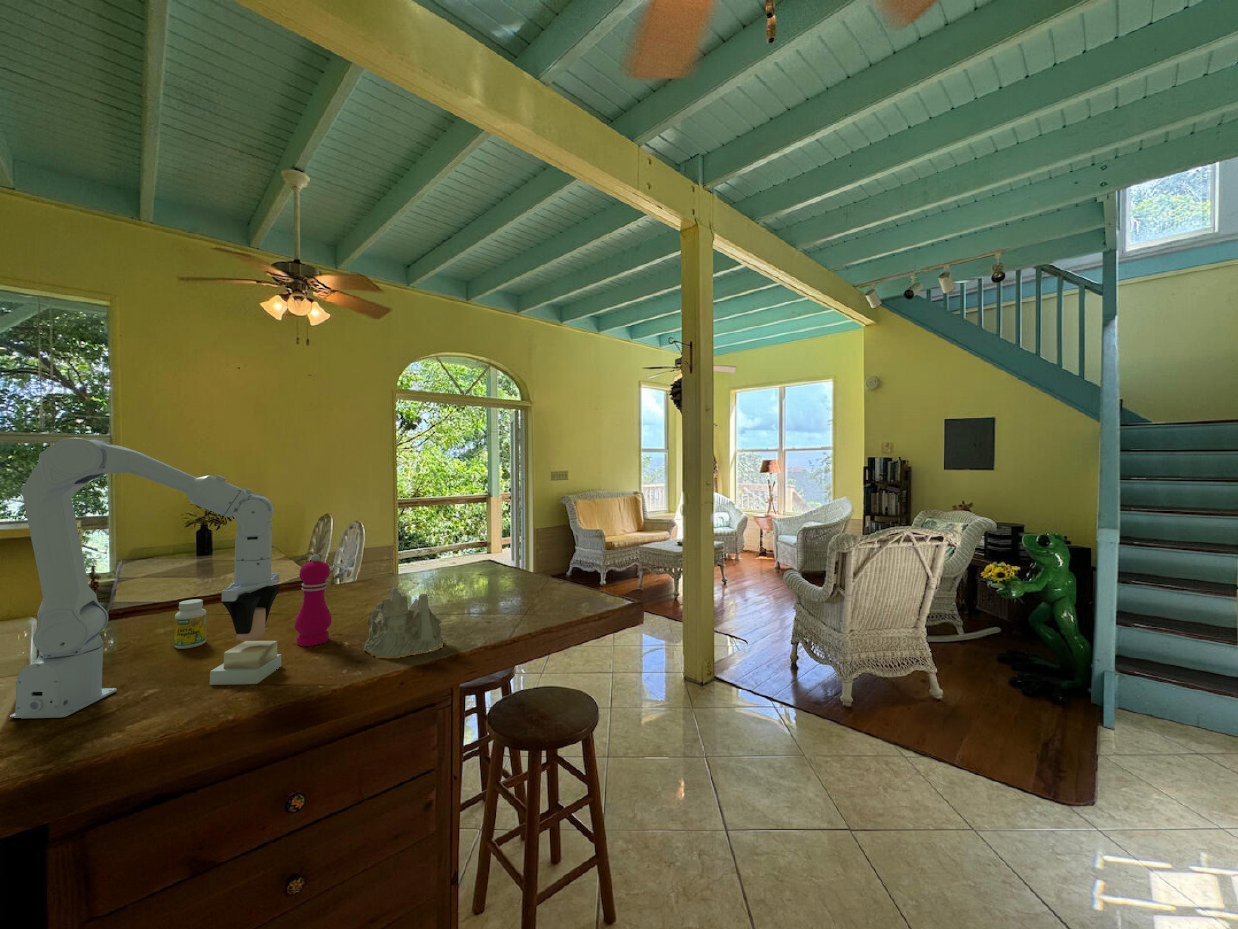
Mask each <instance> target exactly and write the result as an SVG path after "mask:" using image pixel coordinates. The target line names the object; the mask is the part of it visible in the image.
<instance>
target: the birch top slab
mask: <svg viewBox="0 0 1238 929" xmlns="http://www.w3.org/2000/svg"><path fill="white" fill-rule="evenodd" d="M277 654H278V640H247V641H243V642H241V643H239V644H236V645H235V646H234V647H232V648H230V649H227V650H226V651H224V652H223V663H224V669H251V668H259V667H261V666H262V665H264V664H265V663H267V662H268V661H270V660H272V659H273V658H275V657H276V656H277Z"/></svg>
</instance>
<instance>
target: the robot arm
mask: <svg viewBox="0 0 1238 929" xmlns="http://www.w3.org/2000/svg"><path fill="white" fill-rule="evenodd" d="M107 474H132V475H136V476H137V477H138V476H139V477H141V478H143V479H147V480H149V481H151V482H155V483H157V484H160V485H163V486H165V487H168V488H171V489H174V490H177V491H179V492H182V493H185V494H186V496H187V499H188V501H189V503H190V504H193V505H195V506H197V507H200V508H203V509H205V510H207V511H210V512H213V513H216V514H218V515H221V516H223V517H226V518H231V517H233V518H234V521H236V534H235V541H234V545H235V546H234V548H235V549H234V569H233V570H234V571H233V573H234V574H233V576H234V578H233V582H232V583H231V584H230V585H229V586H228V587H227V588H225V589H223V590H221V603H222V605H223V606H224V607H225V609H226V610H227V611H228V614H229V615H230V617H231V618H230V619H231V620H232V624H233V628H234V631H235V634H236V635H237V634H249V633H250V631H251V628H252V622H253V615H254V611H255V608H256V607H262V608H266V618H265V625H266V624H267V621H268V618H269V615H270V611H271V609H272V605H273V603H274V601H275V599H276V597H277V595H278V594H279V592H280V591H281V586H280V585H276V584H278V583H280V572H272V556H273V555H272V553H273V533H272V529H273V524H272V520H271V519H272V517H273V514H274V512H275V510H274V509H275V508H274V504H273V502H272V501H271V499H269V498H268V497H266V496H265V495H263V494H261V493H260V494H259V493H253V492H254V490H253V489H251V488H246V489H244V488H242V487H239V486H237V485H234V484H232V483H229V482H228V481H226V480H227V479H226V477H225V476H222V475H219V474H218V475H216V476H214V475H210V474H209V475H208V474H207V475H204V476H200V477H197V476H194V475H192V474H190V473H187V472H185V471H183V470H181V469H179V468H175V467H174V466H172V465H169V464H168V463H165V462H162V461H160V460H158V459H156V458H153V457H151V456H149V455H147V454H145V453H143V452H139V451H138V450H134V449H131V448H129V447H125V446H122V445H116V444H113V443H111V442H108V441H106V440H101V439H94V438H93V439H86V438H81V437H68V438H64V439H61V440H58V441H56V442H55V443H54V444H52V445H51V446H49V447H48V448H46V449H44V450H43V451H41V452H40V453H39V455H38V462H37V464H36V465H35V467H34V468H33V470H32V471H31V473H30V475H29V476H28V479H27V480H26V481H25V483H24V485H23V486H22V490H21V493H22V499H23V500H22V501H23V504H24V511H25V515H26V520H27V524H28V530H29V533H30V534H29V535H30V540H31V544H32V549H33V553H34V558H35V563H36V569H37V573H38V578H39V584H40V588H41V593H42V594H41V595H42V600H41V603H40V606H39V608H38V609H37V610H38V611H37V614H36V617H37V628H36V629H35V631H34V633H33V636H32V643H33V645H34V647H35V648H36V649H37V650H38V653H39V655H38V657H37V658H36V660H35V661H33V662H31V663H30V664H29V665H27V666H25V667H23V669H21V671H20V672H19V674H18V675H17V677H16V683H15V684H16V685H15V686H16V688H15V689H16V690H15V711H14V713H12V714H10V715H9V716H10V717H14V718H21V719H47V718H48V719H50V718H51V719H53V718H65V717H68V716H70V715H72V714H74V713H77V712H78V711H80V710H82V709H84V708H86V707H89V706H90V705H91V704H94V703H96V702H98V701H100V700H102V699H104V698H105V697H108V696H110V695H112V694H114V693H116V692H117V690H118V689H117V688H116V687H112V688H111V687H110V688H109V687H108V688H105V687H104V688H103V666H104V664H103V661H104V660H103V658H104V640H103V639H102V637H101V635H100V633H101V632H102V631H103V630H104V629H105V628H106V626H107V625H108V623H109V613H108V612H107V610H106V609H105V607H103V606H102V605H101V604H100V602H99V600H98V597H97V593H96V592H95V591H94V590H93V589H92V588H91V587H90V586H89V581H88V576H87V571H86V566H85V565H86V564H85V559H84V556H83V554H84V553H83V550H82V545H81V540H80V534H79V530H78V524H77V520H76V515H75V509H74V504H73V498H72V497H73V496H74V495H75V494H77V492H78V491H80V490H81V489H82V488H84V487H85V486H86V485H87V484H88V483H89V482H91V481H93V480H95V479H98V478H101V477H103V476H105V475H107ZM252 493H253V494H252ZM274 585H275V586H274Z"/></svg>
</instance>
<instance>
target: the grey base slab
mask: <svg viewBox="0 0 1238 929" xmlns="http://www.w3.org/2000/svg"><path fill="white" fill-rule="evenodd" d="M281 666H282V653H277V656H276V657H275V658H273V659H272V660H270V661H268V662H267V663H265V664H264V665H262V666H261V667H259V668H251V669H224V662H223V663H222V664H220V665H218V666H216V667H215V668H213V669H211V670H210V672H209V685H210V686H213V685H214V686H215V685H224V686H225V685H257V684H259V683H260V682H261V681H263V680H264V679H266V678H267V677H268V676H270V675H271V674H272V673H274V672H276V671H277V670H278V669H280V668H281ZM279 667H280V668H279ZM276 669H277V670H276Z"/></svg>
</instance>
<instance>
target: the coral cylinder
mask: <svg viewBox="0 0 1238 929" xmlns="http://www.w3.org/2000/svg"><path fill="white" fill-rule="evenodd" d="M265 618H266V608H262V607H256V608H255V611H254V615H253V622H252V628H251V631H250V633H249V634H236V640H237V641H241V642H242V641H243V642H245V641H255V640H259V639H261V638H263V637H265V636H266V624H265Z"/></svg>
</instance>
